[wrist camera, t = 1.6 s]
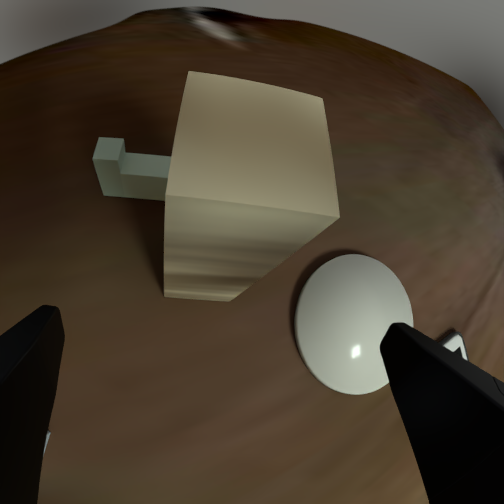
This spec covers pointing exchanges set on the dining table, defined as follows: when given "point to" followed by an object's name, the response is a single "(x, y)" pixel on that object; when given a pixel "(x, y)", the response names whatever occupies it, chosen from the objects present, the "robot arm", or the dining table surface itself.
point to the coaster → (349, 322)
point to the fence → (130, 171)
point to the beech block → (243, 184)
